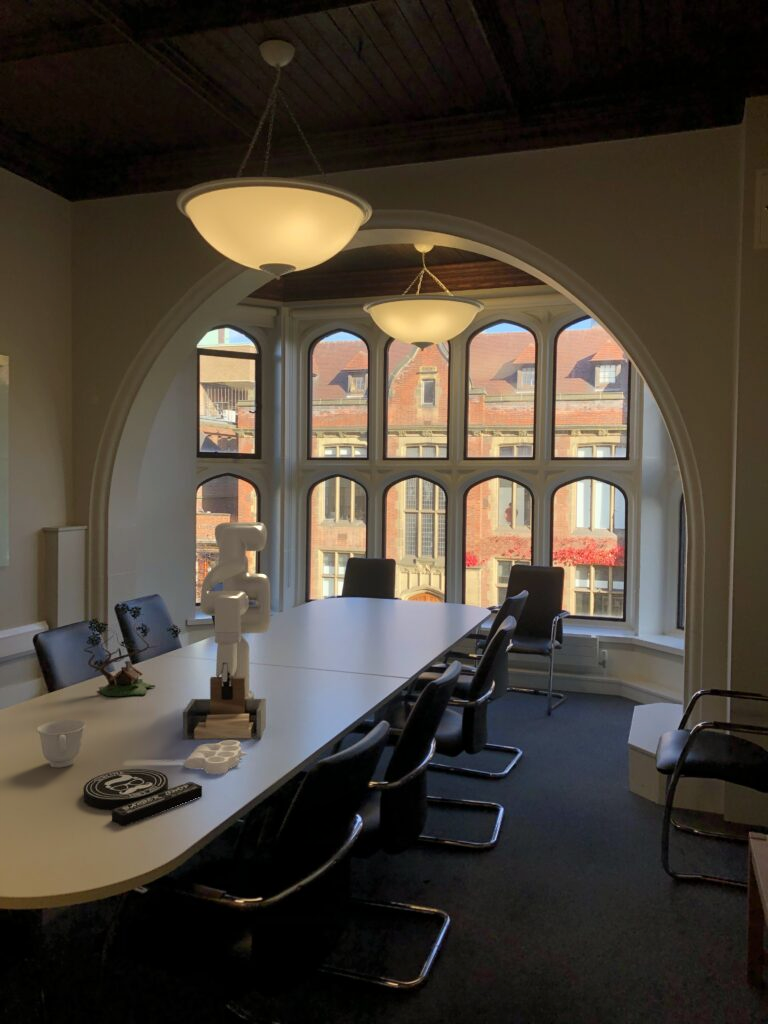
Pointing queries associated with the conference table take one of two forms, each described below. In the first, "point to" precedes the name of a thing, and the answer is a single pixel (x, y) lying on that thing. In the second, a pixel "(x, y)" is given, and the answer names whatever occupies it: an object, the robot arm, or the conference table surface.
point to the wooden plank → (227, 706)
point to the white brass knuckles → (216, 756)
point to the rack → (201, 709)
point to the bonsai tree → (128, 676)
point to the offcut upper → (227, 721)
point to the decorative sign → (136, 794)
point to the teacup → (61, 741)
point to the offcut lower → (222, 732)
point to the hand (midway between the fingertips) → (227, 697)
